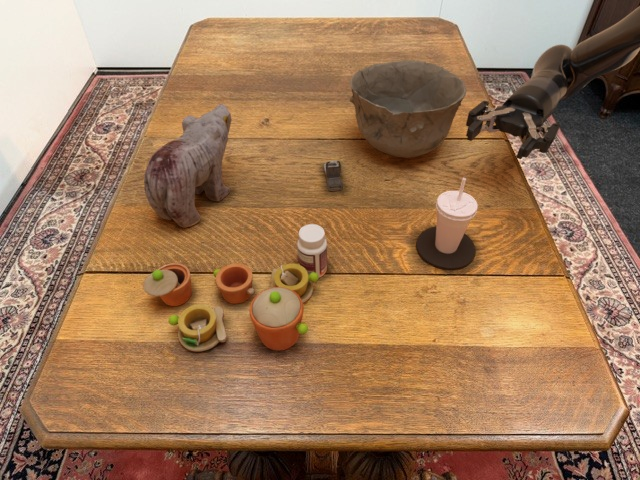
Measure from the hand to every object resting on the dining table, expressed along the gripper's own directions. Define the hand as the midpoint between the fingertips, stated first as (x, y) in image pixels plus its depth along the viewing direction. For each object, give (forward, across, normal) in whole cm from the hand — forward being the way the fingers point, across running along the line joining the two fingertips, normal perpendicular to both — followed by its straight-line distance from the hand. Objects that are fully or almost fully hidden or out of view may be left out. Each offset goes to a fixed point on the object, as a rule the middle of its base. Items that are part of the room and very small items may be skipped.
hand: (494, 144), depth 76 cm
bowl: (-11, -22, +15) cm, 29 cm away
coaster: (+11, 0, +15) cm, 19 cm away
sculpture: (+28, -44, +16) cm, 54 cm away
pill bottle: (+28, -15, +16) cm, 36 cm away
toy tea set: (+43, -19, +16) cm, 50 cm away
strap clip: (+7, -27, +15) cm, 32 cm away
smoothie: (+11, 0, +15) cm, 18 cm away
